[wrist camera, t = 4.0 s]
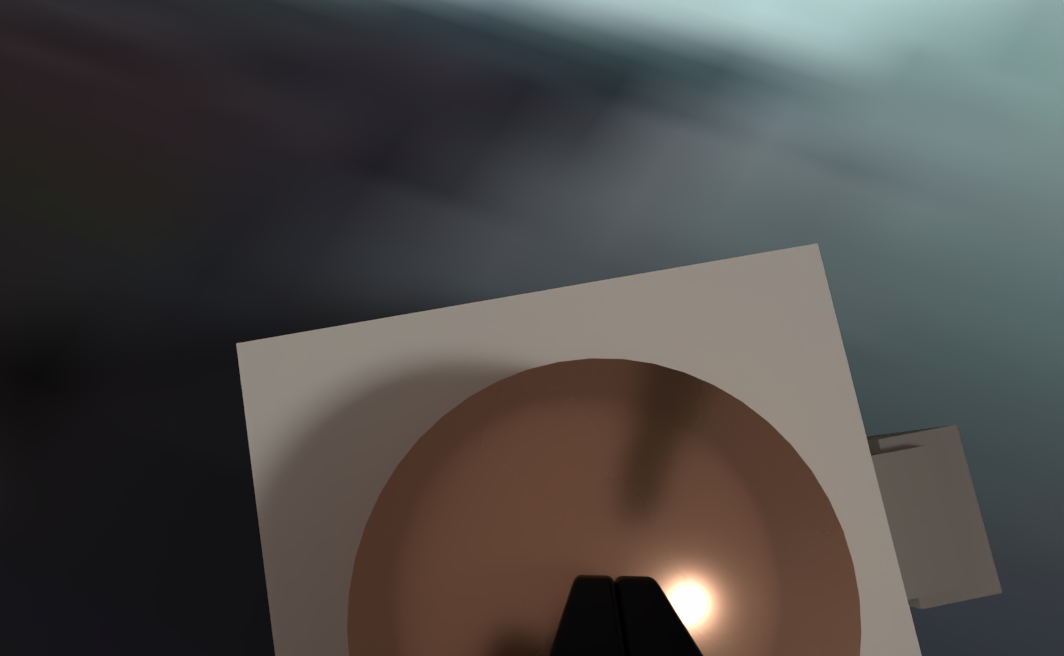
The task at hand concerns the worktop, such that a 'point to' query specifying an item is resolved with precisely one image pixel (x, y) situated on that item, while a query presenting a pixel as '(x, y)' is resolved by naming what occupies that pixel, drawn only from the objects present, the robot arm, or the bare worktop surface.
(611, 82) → the worktop surface
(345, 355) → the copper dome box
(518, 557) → the plunger
